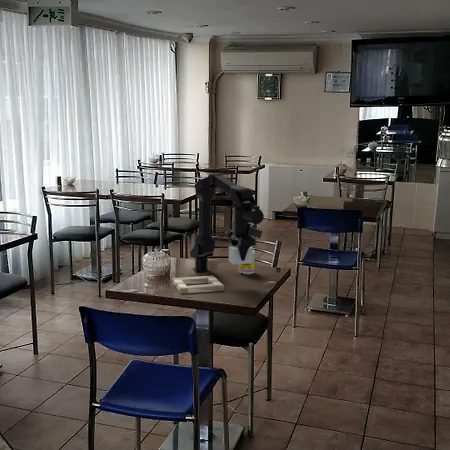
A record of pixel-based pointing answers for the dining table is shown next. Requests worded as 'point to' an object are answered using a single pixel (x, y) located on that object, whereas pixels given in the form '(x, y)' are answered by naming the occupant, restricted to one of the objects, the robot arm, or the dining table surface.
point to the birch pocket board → (212, 286)
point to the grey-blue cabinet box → (235, 256)
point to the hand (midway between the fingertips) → (240, 259)
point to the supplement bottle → (247, 266)
